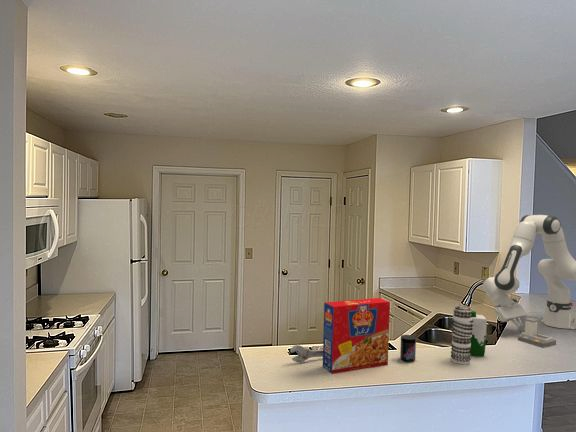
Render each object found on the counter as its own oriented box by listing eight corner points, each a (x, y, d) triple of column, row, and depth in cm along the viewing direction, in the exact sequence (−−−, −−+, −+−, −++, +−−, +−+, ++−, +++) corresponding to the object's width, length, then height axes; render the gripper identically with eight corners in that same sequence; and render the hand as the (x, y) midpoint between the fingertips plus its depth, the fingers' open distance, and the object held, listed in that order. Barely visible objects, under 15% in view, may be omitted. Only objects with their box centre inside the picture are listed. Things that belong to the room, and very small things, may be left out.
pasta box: (331, 374, 178) (333, 306, 176) (322, 366, 185) (324, 302, 184) (387, 365, 189) (389, 301, 188) (377, 358, 196) (379, 297, 195)
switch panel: (530, 336, 234) (531, 330, 234) (555, 344, 223) (556, 337, 222) (517, 340, 228) (518, 333, 227) (542, 347, 216) (543, 340, 216)
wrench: (346, 361, 199) (290, 364, 185) (344, 360, 201) (288, 363, 187) (349, 344, 199) (292, 346, 185) (346, 343, 201) (290, 344, 187)
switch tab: (529, 334, 231) (529, 317, 230) (537, 336, 227) (538, 319, 227) (524, 335, 228) (525, 318, 228) (532, 337, 225) (533, 320, 224)
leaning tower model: (461, 356, 202) (463, 303, 201) (476, 363, 193) (478, 308, 192) (445, 358, 199) (447, 304, 198) (460, 365, 190) (462, 309, 189)
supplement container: (400, 361, 193) (401, 338, 193) (399, 356, 200) (400, 334, 199) (416, 363, 192) (416, 340, 191) (414, 357, 198) (415, 335, 198)
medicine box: (532, 330, 247) (533, 315, 246) (536, 332, 242) (536, 317, 242) (517, 329, 247) (518, 314, 247) (521, 331, 243) (522, 316, 243)
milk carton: (462, 349, 211) (464, 309, 210) (482, 351, 209) (484, 310, 208) (466, 355, 202) (468, 313, 201) (487, 357, 200) (488, 315, 200)
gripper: (496, 303, 233) (512, 325, 225) (518, 299, 244) (535, 320, 236) (488, 309, 237) (504, 331, 229) (510, 305, 248) (526, 326, 240)
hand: (520, 326), depth 233 cm, fingers closed
